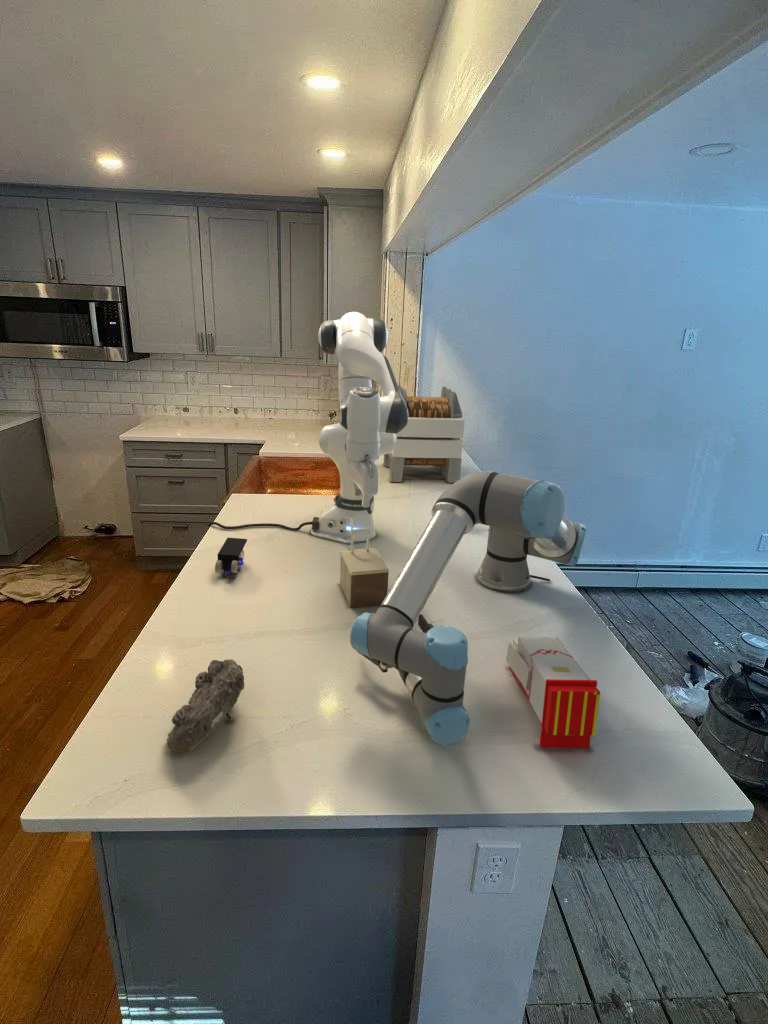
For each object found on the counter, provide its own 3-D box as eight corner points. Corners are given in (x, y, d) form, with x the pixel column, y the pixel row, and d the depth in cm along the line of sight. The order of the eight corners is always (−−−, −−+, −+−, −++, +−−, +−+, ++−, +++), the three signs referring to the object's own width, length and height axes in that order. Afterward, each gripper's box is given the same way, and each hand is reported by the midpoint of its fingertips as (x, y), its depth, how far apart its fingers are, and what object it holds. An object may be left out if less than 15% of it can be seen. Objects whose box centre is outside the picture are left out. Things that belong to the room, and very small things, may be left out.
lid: (340, 553, 159) (340, 526, 156) (375, 551, 162) (376, 524, 159) (351, 575, 146) (351, 546, 144) (388, 572, 149) (390, 544, 146)
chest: (340, 584, 162) (340, 554, 159) (374, 581, 165) (375, 552, 161) (350, 607, 150) (351, 575, 146) (387, 603, 152) (388, 572, 149)
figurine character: (238, 584, 162) (249, 557, 175) (236, 562, 158) (247, 536, 172) (215, 584, 161) (227, 556, 175) (212, 561, 158) (225, 535, 171)
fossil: (192, 660, 117) (244, 628, 112) (224, 691, 120) (276, 661, 115) (142, 746, 98) (202, 712, 93) (182, 779, 101) (242, 748, 96)
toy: (554, 620, 129) (609, 687, 99) (549, 674, 131) (601, 755, 102) (501, 619, 128) (541, 686, 99) (497, 673, 131) (534, 754, 102)
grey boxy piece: (382, 463, 289) (386, 382, 275) (445, 464, 293) (451, 384, 279) (390, 482, 257) (394, 392, 243) (460, 483, 261) (468, 394, 247)
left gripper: (385, 460, 140) (383, 513, 144) (365, 441, 158) (363, 489, 163) (360, 461, 138) (358, 514, 143) (343, 442, 156) (342, 490, 161)
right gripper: (360, 702, 109) (338, 642, 128) (479, 685, 116) (441, 630, 135) (361, 669, 106) (338, 613, 125) (482, 653, 113) (443, 602, 132)
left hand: (361, 500), depth 153 cm, fingers open, 8 cm apart
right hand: (391, 622), depth 130 cm, fingers open, 13 cm apart
